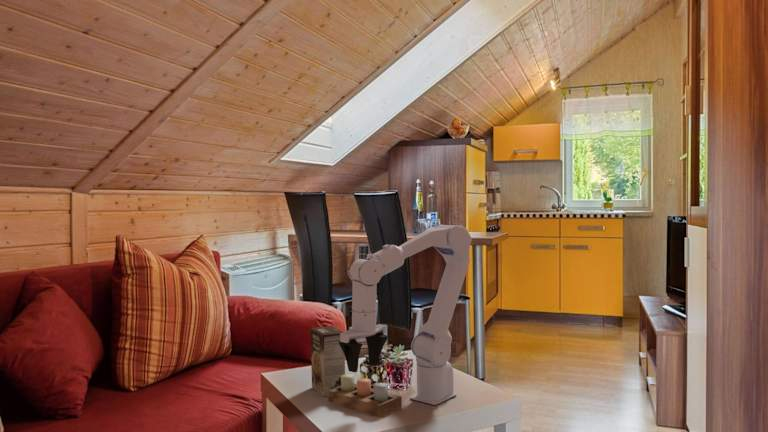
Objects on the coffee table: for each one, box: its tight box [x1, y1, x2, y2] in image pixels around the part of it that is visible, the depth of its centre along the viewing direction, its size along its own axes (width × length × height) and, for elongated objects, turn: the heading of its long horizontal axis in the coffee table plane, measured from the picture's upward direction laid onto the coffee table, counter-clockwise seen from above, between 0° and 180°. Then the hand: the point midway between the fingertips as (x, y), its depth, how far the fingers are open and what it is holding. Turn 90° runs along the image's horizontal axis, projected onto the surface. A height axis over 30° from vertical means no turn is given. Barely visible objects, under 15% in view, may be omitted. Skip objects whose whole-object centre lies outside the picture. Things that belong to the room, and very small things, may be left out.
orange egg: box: [356, 377, 372, 398], centre depth 144 cm, size 3×3×4 cm
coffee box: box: [310, 325, 346, 398], centre depth 155 cm, size 9×6×16 cm
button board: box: [327, 383, 403, 418], centre depth 144 cm, size 17×8×3 cm, turn 48°
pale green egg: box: [341, 373, 356, 393], centre depth 147 cm, size 3×3×4 cm
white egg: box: [373, 382, 389, 403], centre depth 140 cm, size 3×3×4 cm
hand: (363, 368), depth 138 cm, fingers open, 7 cm apart
